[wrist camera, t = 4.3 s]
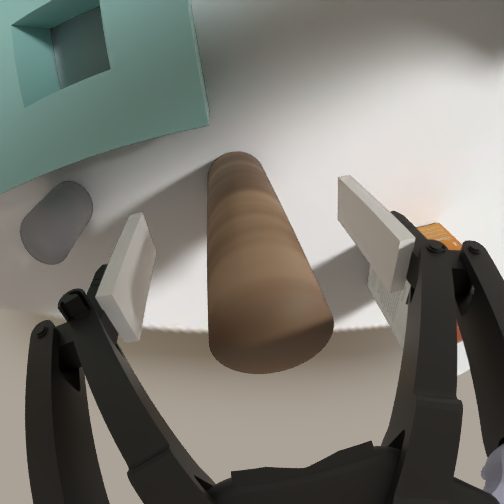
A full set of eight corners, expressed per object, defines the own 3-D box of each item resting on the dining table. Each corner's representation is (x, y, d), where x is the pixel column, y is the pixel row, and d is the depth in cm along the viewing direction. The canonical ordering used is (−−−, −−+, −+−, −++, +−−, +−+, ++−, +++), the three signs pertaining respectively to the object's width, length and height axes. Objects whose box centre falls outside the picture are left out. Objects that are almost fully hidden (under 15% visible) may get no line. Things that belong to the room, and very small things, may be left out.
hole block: (3, 12, 9) (-36, 10, 5) (180, -64, 9) (173, -97, 5) (34, 167, 17) (0, 194, 13) (209, 112, 18) (208, 125, 13)
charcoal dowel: (43, 189, 18) (11, 220, 14) (82, 175, 18) (53, 204, 14) (61, 231, 21) (36, 268, 17) (99, 221, 21) (78, 258, 17)
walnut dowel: (202, 157, 19) (193, 308, 8) (260, 147, 19) (337, 281, 8) (213, 208, 22) (223, 380, 10) (267, 198, 22) (329, 360, 10)
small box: (438, 220, 25) (522, 309, 14) (426, 269, 29) (491, 358, 18) (370, 233, 25) (452, 347, 14) (364, 286, 28) (422, 394, 18)
